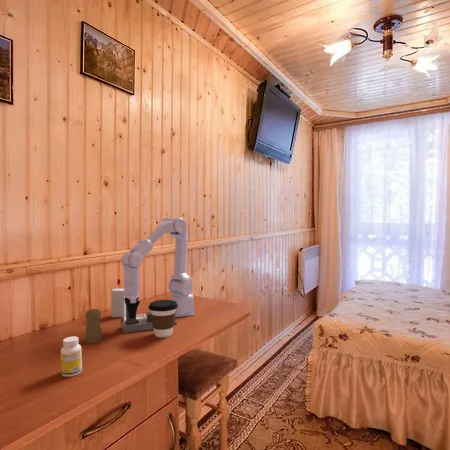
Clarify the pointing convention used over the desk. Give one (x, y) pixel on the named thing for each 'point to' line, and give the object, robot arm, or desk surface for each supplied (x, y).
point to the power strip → (139, 324)
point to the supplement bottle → (71, 357)
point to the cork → (93, 326)
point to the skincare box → (118, 303)
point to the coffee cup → (163, 317)
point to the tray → (138, 316)
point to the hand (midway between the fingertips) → (132, 316)
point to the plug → (128, 320)
